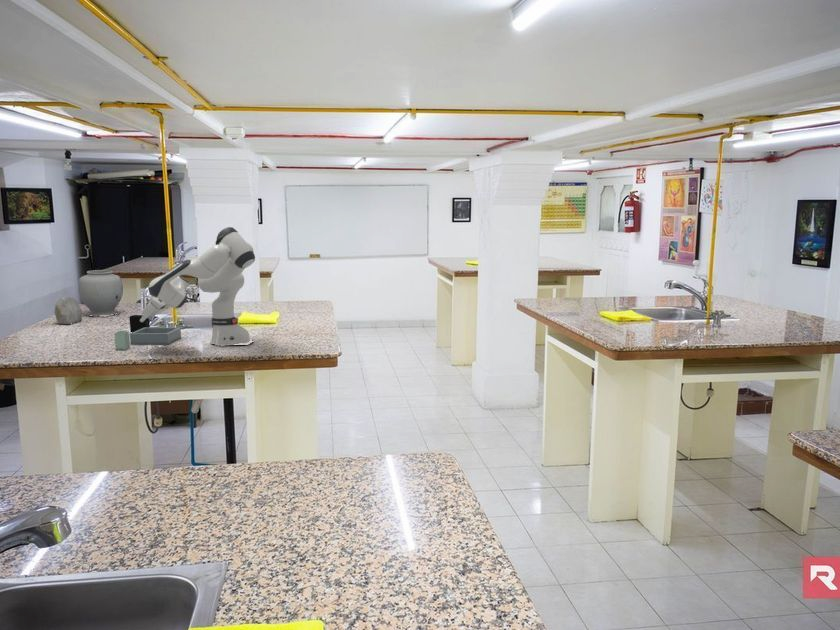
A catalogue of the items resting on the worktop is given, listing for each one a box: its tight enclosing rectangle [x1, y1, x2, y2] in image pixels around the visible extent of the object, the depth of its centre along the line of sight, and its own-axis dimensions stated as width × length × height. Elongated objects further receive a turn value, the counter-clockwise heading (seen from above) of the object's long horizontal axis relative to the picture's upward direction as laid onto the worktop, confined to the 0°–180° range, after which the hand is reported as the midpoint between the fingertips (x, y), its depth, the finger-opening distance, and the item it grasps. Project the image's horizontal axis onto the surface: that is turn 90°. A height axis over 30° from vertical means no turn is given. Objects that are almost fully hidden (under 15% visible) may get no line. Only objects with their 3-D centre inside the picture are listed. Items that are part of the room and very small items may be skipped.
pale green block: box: [114, 330, 131, 351], centre depth 329 cm, size 5×5×9 cm
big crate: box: [129, 326, 182, 346], centre depth 349 cm, size 20×18×6 cm
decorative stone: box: [54, 296, 83, 325], centre depth 403 cm, size 17×20×10 cm
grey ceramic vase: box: [77, 269, 124, 316], centre depth 431 cm, size 27×27×30 cm
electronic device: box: [128, 314, 151, 333], centre depth 373 cm, size 4×10×10 cm, turn 78°
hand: (145, 319), depth 326 cm, fingers open, 8 cm apart
